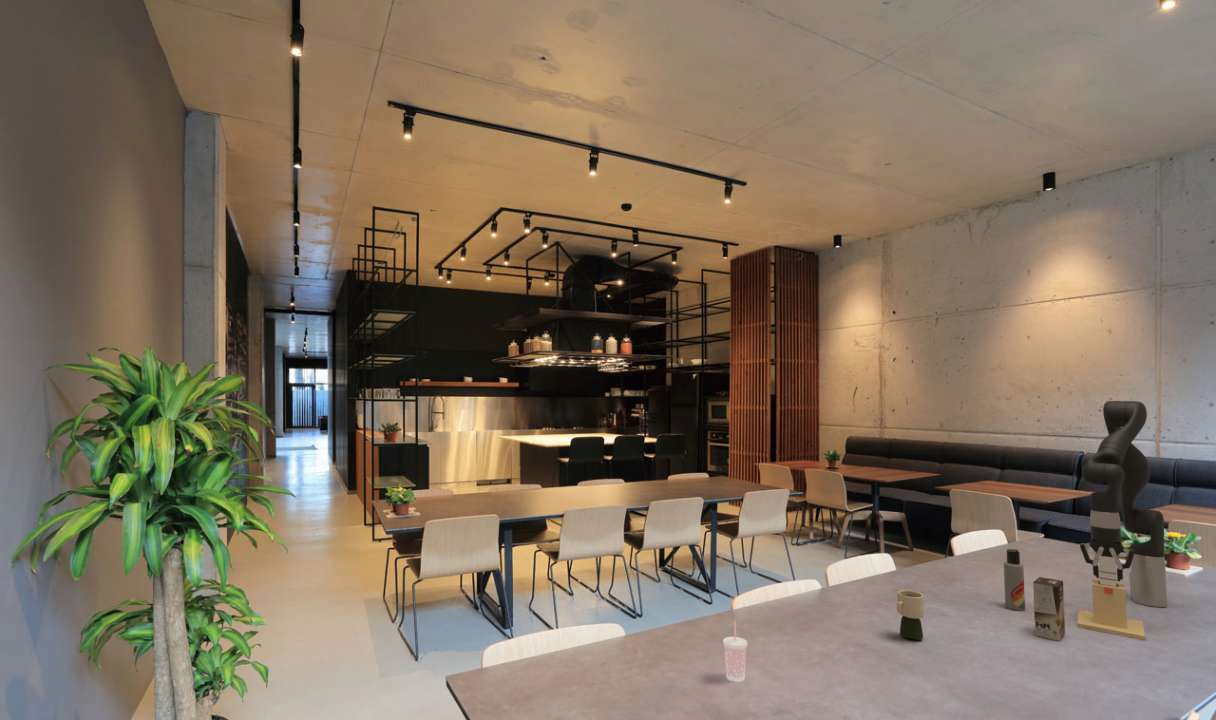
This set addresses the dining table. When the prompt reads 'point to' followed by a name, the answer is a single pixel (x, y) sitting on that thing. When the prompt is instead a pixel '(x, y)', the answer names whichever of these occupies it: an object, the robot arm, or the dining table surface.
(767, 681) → the dining table surface
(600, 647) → the dining table surface
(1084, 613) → the stand
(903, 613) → the character mug
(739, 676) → the beverage cup
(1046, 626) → the coffee box
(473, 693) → the dining table surface
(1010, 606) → the lotion bottle
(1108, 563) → the column
